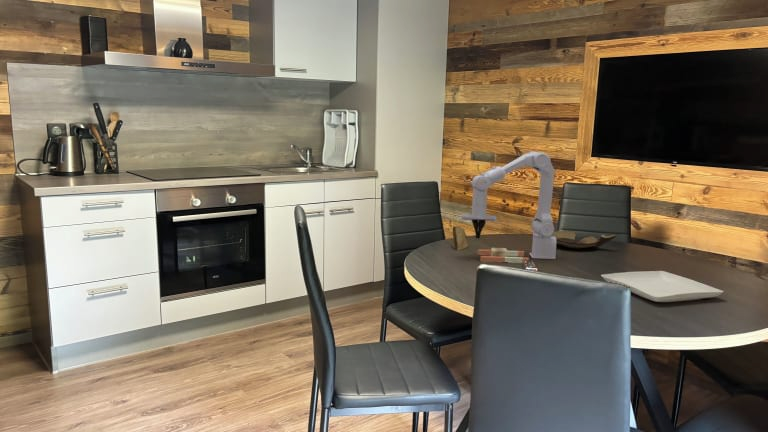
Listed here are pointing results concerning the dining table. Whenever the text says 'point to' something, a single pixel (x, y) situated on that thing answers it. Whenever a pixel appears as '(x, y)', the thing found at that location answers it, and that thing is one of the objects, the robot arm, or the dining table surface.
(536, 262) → the dining table surface
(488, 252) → the pink-beige flat slab
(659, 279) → the square plate
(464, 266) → the dining table surface
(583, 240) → the dark brown bowl
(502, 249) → the maple block
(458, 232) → the rock
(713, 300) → the dining table surface
